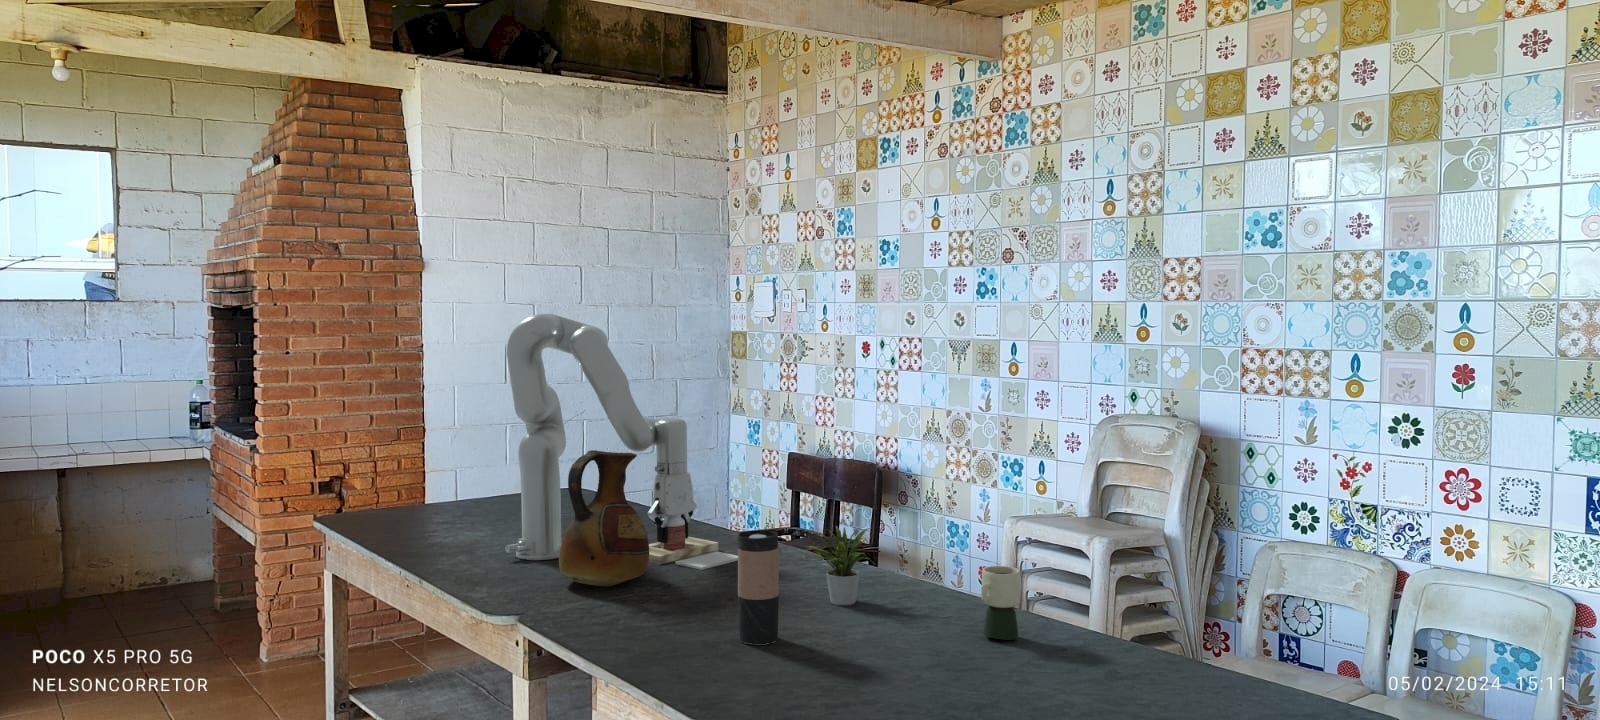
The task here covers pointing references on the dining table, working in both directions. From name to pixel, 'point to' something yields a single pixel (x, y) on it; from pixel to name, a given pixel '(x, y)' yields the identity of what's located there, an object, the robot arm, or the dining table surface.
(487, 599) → the dining table surface
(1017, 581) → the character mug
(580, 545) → the ceramic pitcher
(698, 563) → the mat
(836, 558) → the house plant
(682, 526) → the pill bottle
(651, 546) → the wooden rectangular frame
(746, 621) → the travel mug
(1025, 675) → the dining table surface
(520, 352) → the robot arm
